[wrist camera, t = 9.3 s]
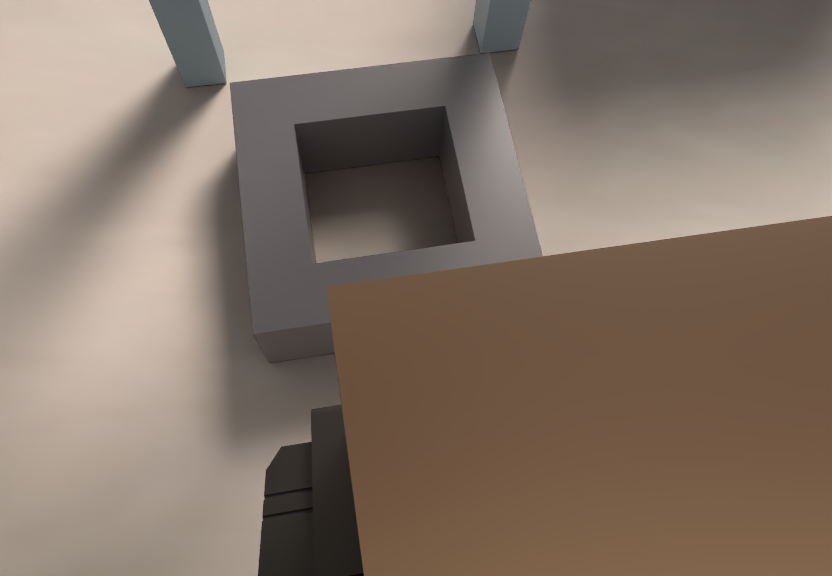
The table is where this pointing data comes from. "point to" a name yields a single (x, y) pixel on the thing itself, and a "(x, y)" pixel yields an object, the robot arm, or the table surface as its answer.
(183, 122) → the table surface
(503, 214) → the socket
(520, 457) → the walnut peg
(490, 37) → the two-legged side table
